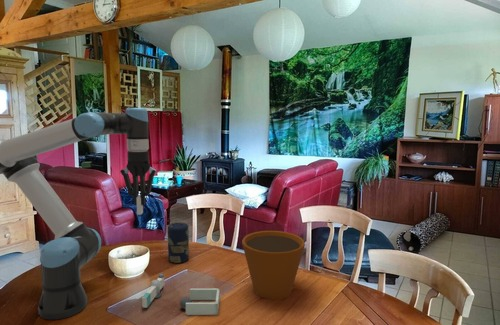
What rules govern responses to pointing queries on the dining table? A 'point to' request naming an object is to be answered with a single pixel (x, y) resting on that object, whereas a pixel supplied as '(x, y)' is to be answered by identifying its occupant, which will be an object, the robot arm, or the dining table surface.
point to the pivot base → (158, 296)
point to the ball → (184, 301)
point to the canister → (178, 242)
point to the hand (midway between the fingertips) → (140, 213)
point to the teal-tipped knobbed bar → (153, 290)
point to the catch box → (203, 307)
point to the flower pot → (273, 261)
